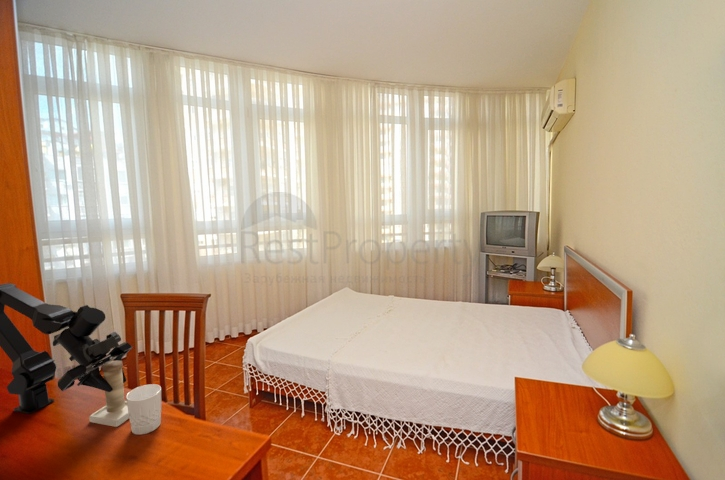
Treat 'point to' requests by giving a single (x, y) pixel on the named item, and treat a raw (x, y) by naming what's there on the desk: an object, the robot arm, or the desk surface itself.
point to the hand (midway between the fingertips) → (118, 386)
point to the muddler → (114, 385)
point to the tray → (110, 416)
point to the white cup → (144, 408)
